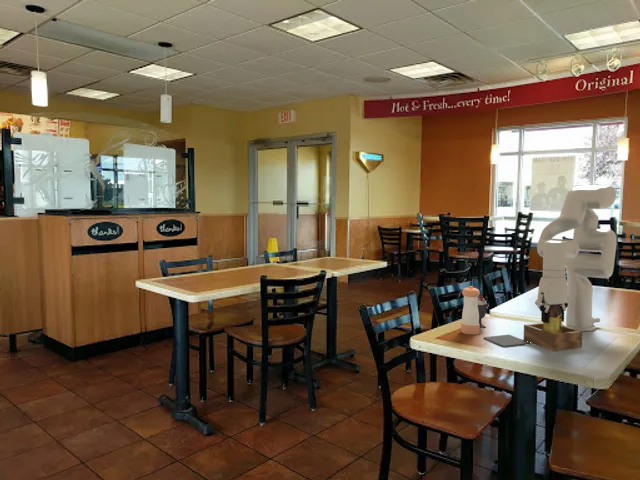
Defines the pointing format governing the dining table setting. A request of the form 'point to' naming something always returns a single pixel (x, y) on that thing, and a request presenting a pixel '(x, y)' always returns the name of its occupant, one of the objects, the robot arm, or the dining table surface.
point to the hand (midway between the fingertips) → (552, 321)
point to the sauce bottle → (554, 320)
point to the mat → (506, 340)
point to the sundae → (481, 309)
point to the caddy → (553, 337)
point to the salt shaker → (470, 311)
